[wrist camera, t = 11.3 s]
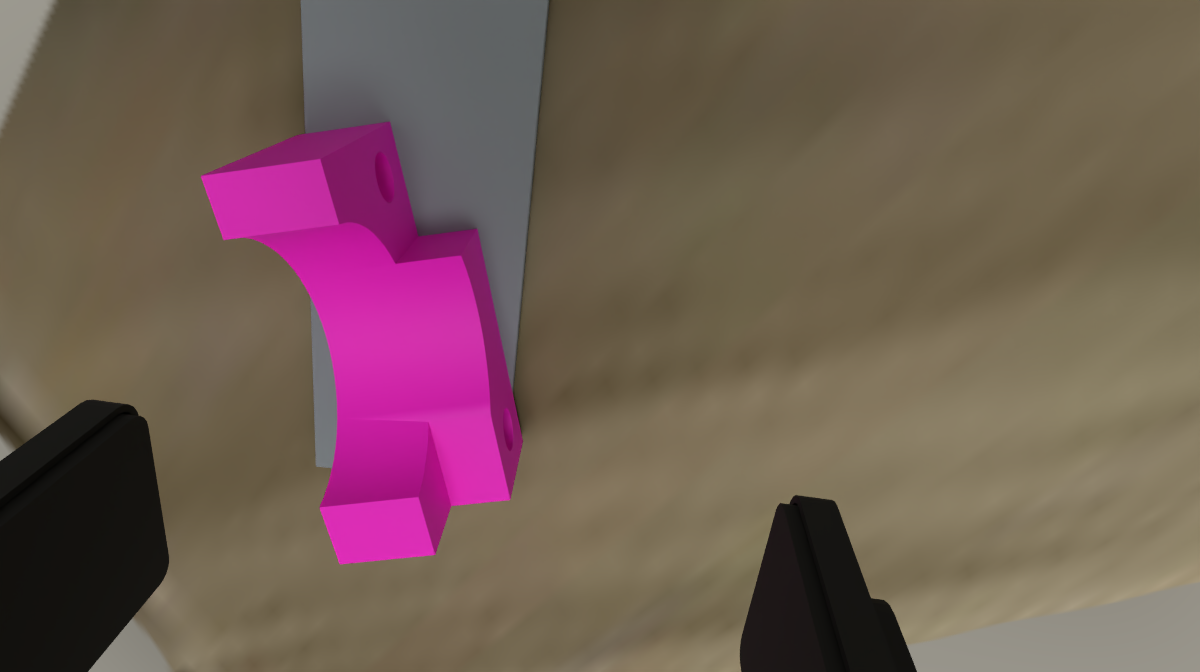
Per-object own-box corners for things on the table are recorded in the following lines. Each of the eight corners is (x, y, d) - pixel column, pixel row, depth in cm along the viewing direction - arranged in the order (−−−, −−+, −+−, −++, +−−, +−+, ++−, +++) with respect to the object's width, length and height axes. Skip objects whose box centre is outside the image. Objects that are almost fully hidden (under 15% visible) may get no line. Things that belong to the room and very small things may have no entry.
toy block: (523, 441, 35) (499, 548, 28) (393, 455, 35) (339, 564, 29) (452, 112, 29) (401, 147, 22) (297, 134, 29) (200, 176, 23)
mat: (550, -10, 28) (548, -10, 27) (504, 481, 37) (503, 488, 36) (306, -44, 27) (299, -45, 27) (320, 459, 36) (316, 466, 36)
